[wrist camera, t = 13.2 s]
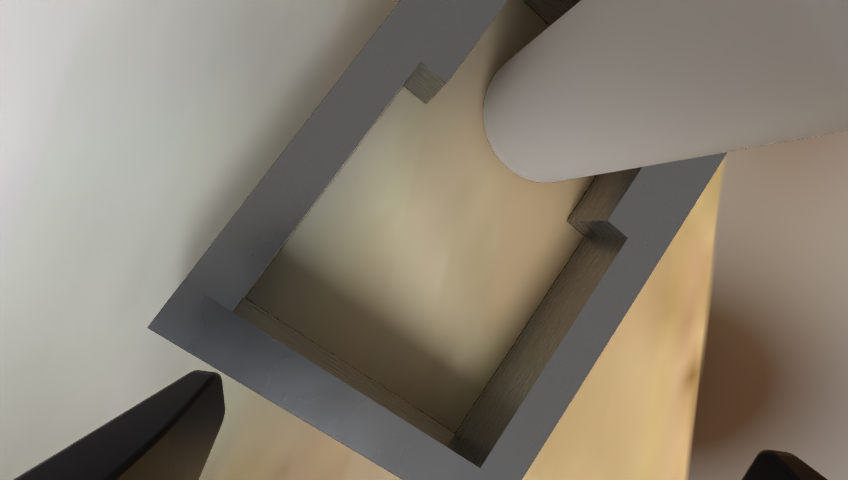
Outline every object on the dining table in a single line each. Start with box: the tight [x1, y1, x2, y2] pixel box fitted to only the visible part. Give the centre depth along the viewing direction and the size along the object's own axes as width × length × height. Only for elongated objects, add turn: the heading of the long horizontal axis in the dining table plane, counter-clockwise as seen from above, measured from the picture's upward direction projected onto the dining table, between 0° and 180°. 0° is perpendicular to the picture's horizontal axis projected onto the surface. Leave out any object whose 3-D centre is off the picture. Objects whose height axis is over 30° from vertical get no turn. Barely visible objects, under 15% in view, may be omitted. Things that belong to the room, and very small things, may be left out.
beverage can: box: [483, 0, 848, 182], centre depth 12 cm, size 5×5×12 cm
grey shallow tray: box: [147, 0, 727, 480], centre depth 15 cm, size 18×12×4 cm
